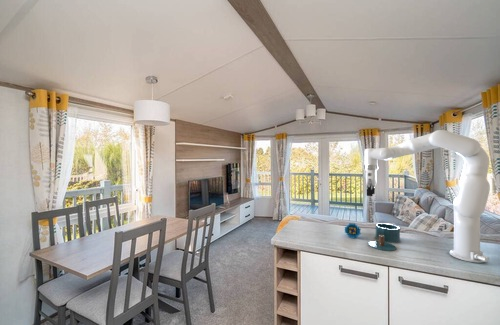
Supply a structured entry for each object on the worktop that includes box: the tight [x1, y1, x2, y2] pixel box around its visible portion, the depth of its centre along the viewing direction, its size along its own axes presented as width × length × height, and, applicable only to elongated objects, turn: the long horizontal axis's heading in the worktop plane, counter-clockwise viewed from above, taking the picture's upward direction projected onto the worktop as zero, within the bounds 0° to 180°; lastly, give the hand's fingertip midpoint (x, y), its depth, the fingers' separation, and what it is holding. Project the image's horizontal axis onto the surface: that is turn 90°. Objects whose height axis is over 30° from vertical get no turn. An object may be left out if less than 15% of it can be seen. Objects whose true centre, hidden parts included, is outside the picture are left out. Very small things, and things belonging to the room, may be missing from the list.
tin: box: [375, 222, 401, 244], centre depth 136 cm, size 13×13×8 cm
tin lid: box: [367, 235, 397, 252], centre depth 124 cm, size 14×14×7 cm
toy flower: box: [344, 222, 362, 239], centre depth 145 cm, size 9×9×18 cm
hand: (370, 194), depth 137 cm, fingers open, 9 cm apart
